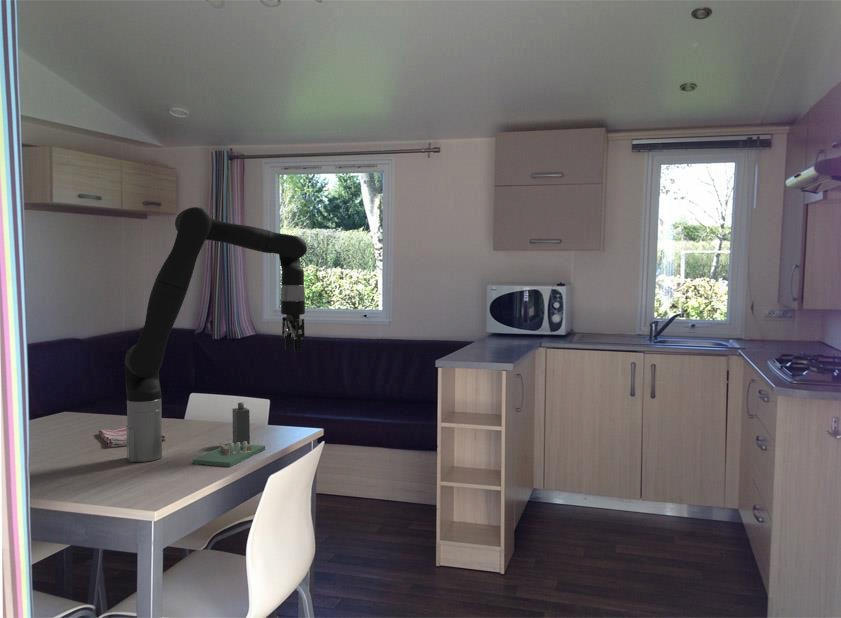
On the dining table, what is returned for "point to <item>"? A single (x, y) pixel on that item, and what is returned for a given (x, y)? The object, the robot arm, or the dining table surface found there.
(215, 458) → the board
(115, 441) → the dish towel
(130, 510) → the dining table surface
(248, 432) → the block
